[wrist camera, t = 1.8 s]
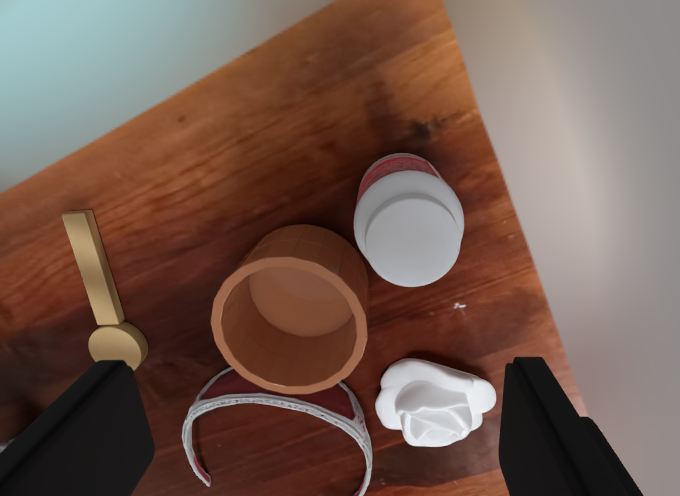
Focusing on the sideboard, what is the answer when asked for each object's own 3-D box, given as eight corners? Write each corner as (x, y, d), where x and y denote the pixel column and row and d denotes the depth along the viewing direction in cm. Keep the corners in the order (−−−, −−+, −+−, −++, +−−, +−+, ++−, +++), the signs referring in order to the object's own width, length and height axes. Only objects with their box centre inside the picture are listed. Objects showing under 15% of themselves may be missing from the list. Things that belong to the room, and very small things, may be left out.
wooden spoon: (53, 212, 33) (42, 216, 32) (108, 208, 33) (99, 212, 32) (105, 366, 38) (97, 374, 37) (153, 365, 38) (147, 373, 37)
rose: (482, 362, 30) (523, 459, 32) (469, 330, 34) (507, 417, 37) (356, 403, 32) (405, 490, 35) (359, 368, 36) (402, 448, 39)
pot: (233, 228, 33) (196, 261, 26) (364, 219, 31) (361, 252, 25) (254, 341, 36) (226, 395, 30) (373, 337, 35) (372, 393, 28)
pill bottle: (341, 198, 31) (324, 249, 21) (397, 133, 29) (407, 154, 19) (403, 249, 32) (416, 322, 22) (460, 189, 30) (504, 239, 20)
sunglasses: (384, 363, 35) (383, 413, 31) (365, 476, 44) (363, 527, 40) (188, 340, 36) (161, 385, 32) (208, 455, 45) (189, 503, 41)
